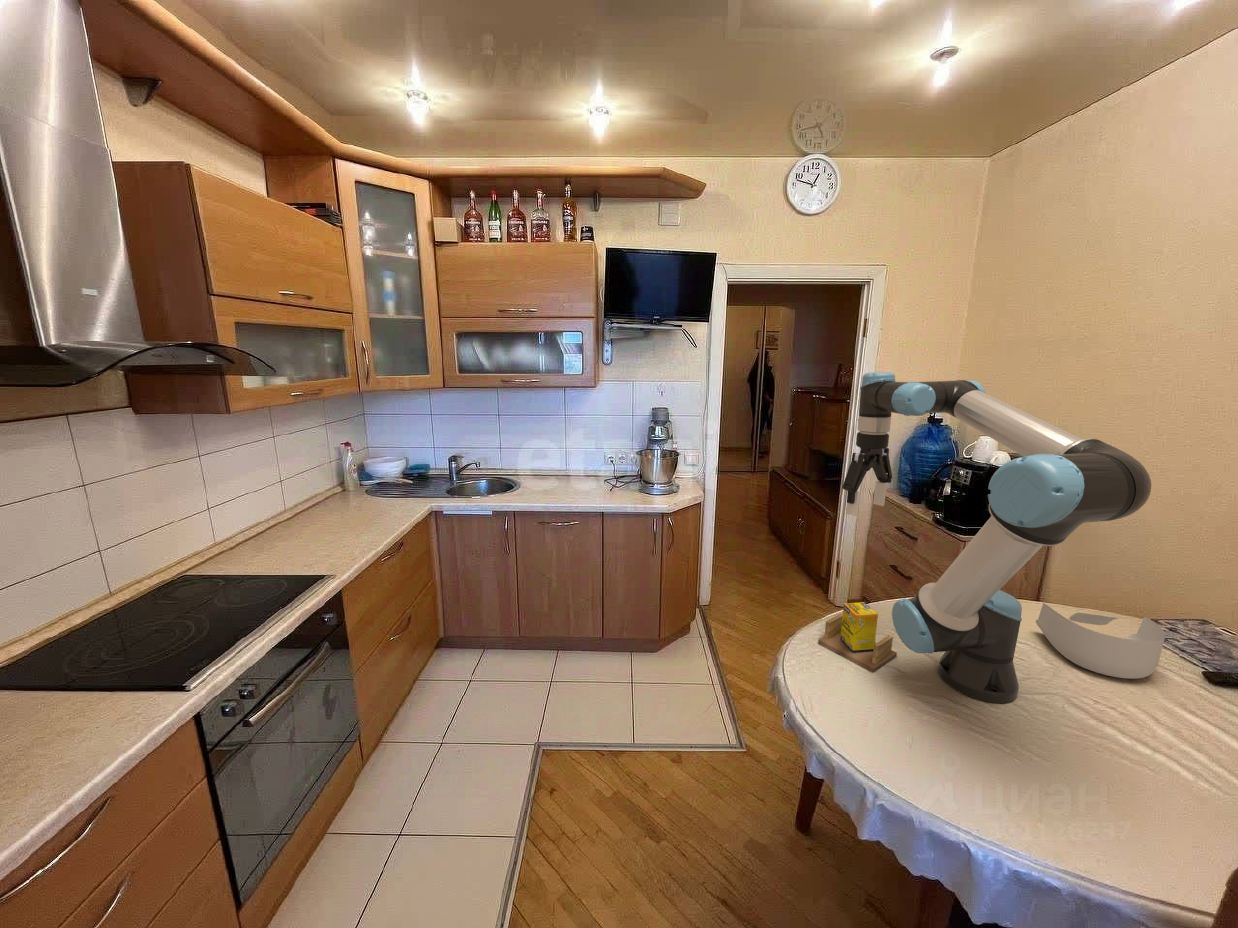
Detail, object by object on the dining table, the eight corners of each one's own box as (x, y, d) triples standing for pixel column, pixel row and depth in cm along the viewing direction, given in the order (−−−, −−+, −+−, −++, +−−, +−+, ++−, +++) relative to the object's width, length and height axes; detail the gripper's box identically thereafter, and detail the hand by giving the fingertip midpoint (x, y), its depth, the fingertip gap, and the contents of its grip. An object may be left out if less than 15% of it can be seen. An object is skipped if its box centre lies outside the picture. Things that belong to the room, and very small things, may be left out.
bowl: (1064, 675, 114) (1073, 630, 111) (1031, 632, 131) (1038, 593, 129) (1177, 695, 107) (1190, 648, 104) (1127, 647, 124) (1137, 606, 121)
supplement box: (839, 640, 127) (842, 603, 125) (860, 638, 128) (864, 601, 126) (852, 653, 122) (856, 615, 119) (874, 651, 122) (878, 613, 120)
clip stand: (896, 656, 122) (899, 635, 121) (873, 672, 116) (875, 650, 115) (841, 630, 134) (843, 610, 133) (818, 643, 128) (819, 622, 127)
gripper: (883, 426, 134) (876, 498, 139) (831, 435, 121) (825, 515, 125) (911, 429, 128) (903, 504, 133) (860, 439, 115) (852, 522, 119)
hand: (865, 509), depth 129 cm, fingers open, 13 cm apart
